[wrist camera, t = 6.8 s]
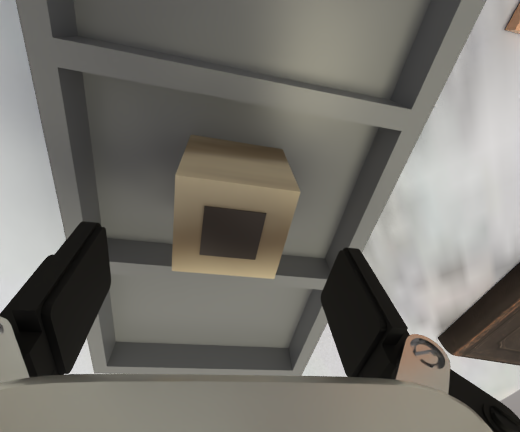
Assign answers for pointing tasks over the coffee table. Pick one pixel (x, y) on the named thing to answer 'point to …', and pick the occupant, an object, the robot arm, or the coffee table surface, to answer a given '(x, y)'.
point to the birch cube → (232, 208)
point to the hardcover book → (490, 325)
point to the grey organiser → (238, 130)
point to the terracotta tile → (514, 22)
